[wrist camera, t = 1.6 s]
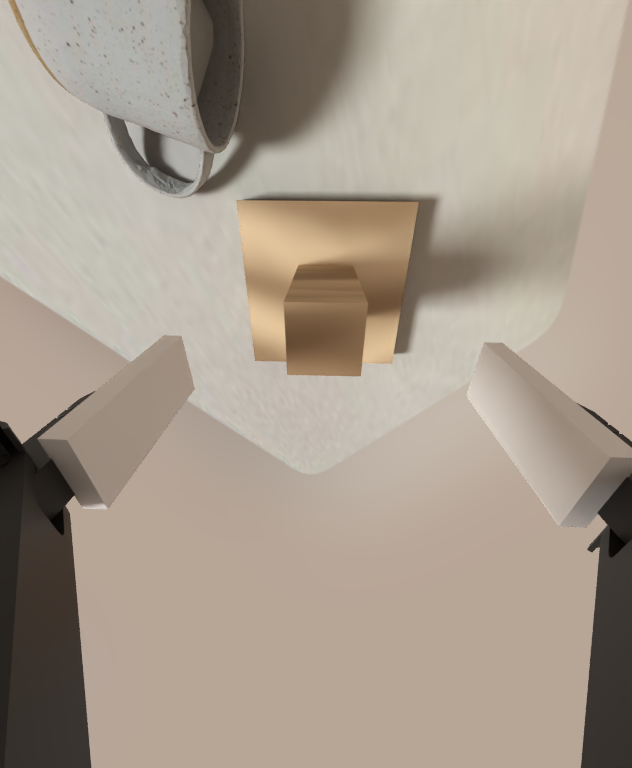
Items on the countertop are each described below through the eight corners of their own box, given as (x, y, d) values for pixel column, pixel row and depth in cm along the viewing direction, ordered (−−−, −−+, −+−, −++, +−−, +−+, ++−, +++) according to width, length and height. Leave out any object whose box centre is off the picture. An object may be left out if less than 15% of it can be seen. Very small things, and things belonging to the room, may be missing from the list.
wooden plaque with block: (240, 200, 20) (179, 201, 12) (414, 201, 20) (479, 204, 12) (257, 354, 27) (226, 428, 18) (389, 357, 27) (420, 433, 18)
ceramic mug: (90, -70, 15) (-90, -269, 8) (251, -13, 16) (199, -154, 9) (117, 178, 21) (22, 173, 14) (234, 211, 21) (194, 219, 15)
